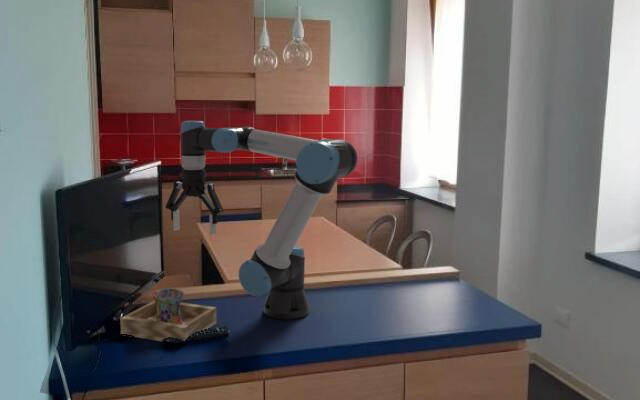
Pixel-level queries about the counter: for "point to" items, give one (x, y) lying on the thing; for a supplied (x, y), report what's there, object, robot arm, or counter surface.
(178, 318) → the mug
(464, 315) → the counter surface
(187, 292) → the counter surface
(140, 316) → the wooden tray
